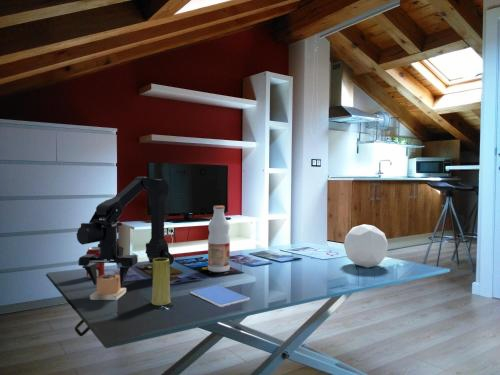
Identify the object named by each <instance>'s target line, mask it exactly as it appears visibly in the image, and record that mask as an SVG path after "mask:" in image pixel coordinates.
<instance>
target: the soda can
mask: <svg viewBox="0 0 500 375" xmlns="http://www.w3.org/2000/svg"><path fill="white" fill-rule="evenodd" d="M86 254H96V256H97V257H98V256H99V247H98V246H90V247H88V248H87V251H86ZM86 254H85V255H86ZM103 260H104V259H103ZM85 271H86V270H85ZM96 271H97V277H99V276H102V275H105V263H98V264H97V268H96ZM86 278H88V279H91V277H90V276H89V274H88V272H87V271H86ZM91 280H92V279H91Z"/></svg>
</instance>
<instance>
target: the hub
mask: <svg viewBox="0 0 500 375" xmlns="http://www.w3.org/2000/svg"><path fill="white" fill-rule="evenodd" d="M105 276H113V278H110V279H104V277H105ZM120 288H121V284H120V274H114V273H113V274H111V273H110V274H108V273H107V274H104V275H102V276H99V277H97V285H96V291H97V293H99V294H104V295H109V294H114V293H118V292H119V291H120Z"/></svg>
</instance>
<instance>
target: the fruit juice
mask: <svg viewBox="0 0 500 375" xmlns="http://www.w3.org/2000/svg"><path fill="white" fill-rule="evenodd" d="M212 208H213V216H212V218H211V220H210V221H209V222H208V231H209V234H208V237H207V238H208V240H207V260H208V261H207V262H208V263H207V269H208V271H210V272H212V273H213V272H214V273H222V272H228V271H229V270H230V269H231V268H230V264H231V263H230V260H231V259H230V257H231V255H230V254H231V252H230V250H231V248H230V246H231V244H230V242H231V240H230V239H231V238H230V234H229V230H230V223H229V221H228V220H227V219H226V215H225V208H226V207H225V205H213V206H212Z"/></svg>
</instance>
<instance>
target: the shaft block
mask: <svg viewBox="0 0 500 375" xmlns="http://www.w3.org/2000/svg"><path fill="white" fill-rule="evenodd" d="M110 278H113V276H105V277H104V279H110ZM126 293H127V287H120V291H119V292H118V293H114V294H109V295H104V294H99V293H97V290H95V291H94V292H92V293H91V294H90V295H89V300H91V301H92V300H93V301H94V300H95V301H99V300H100V301H101V300H102V301H118V300H119V299H120V298H121V297H123V296H124V294H126Z"/></svg>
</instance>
